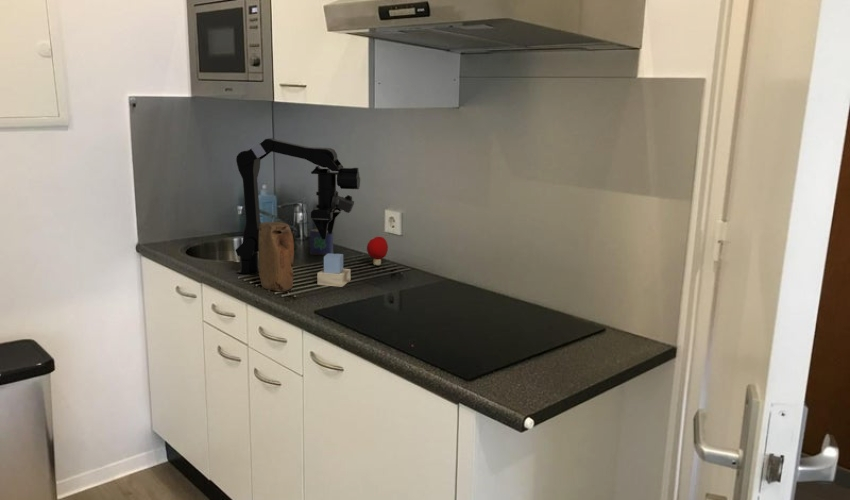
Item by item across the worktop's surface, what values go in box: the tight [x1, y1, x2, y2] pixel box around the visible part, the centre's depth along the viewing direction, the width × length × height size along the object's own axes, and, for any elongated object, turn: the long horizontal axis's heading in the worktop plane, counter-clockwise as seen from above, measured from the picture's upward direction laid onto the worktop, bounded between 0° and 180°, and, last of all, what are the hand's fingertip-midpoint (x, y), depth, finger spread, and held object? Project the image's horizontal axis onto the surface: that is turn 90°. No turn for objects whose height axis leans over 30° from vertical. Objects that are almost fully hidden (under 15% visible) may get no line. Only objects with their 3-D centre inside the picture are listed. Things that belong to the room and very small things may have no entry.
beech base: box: [316, 268, 352, 288], centre depth 212 cm, size 8×8×4 cm
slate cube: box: [323, 253, 344, 273], centre depth 211 cm, size 5×5×5 cm
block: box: [257, 221, 295, 292], centre depth 203 cm, size 11×8×20 cm
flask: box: [309, 228, 334, 257], centre depth 250 cm, size 9×3×11 cm, turn 72°
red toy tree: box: [366, 236, 389, 267], centre depth 234 cm, size 9×7×10 cm
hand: (327, 236), depth 218 cm, fingers open, 9 cm apart
